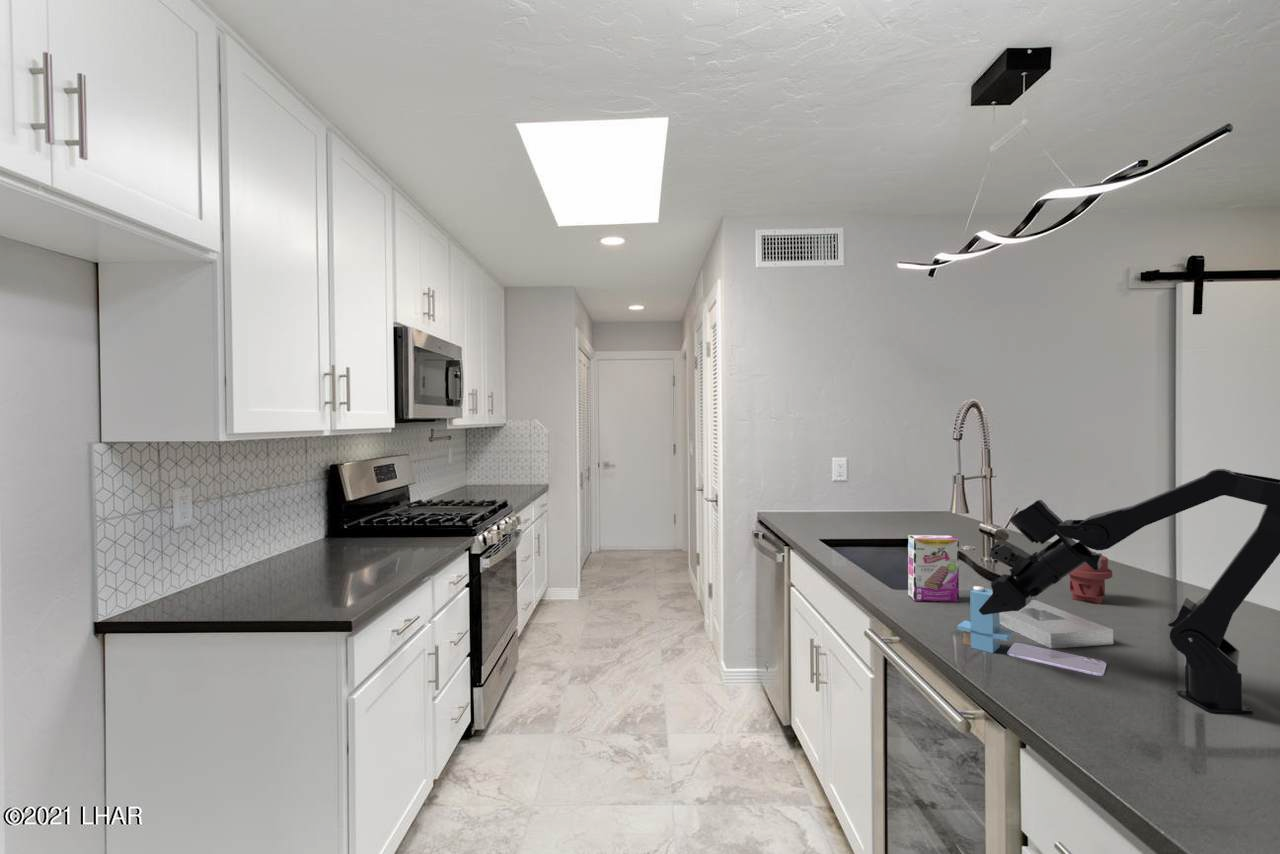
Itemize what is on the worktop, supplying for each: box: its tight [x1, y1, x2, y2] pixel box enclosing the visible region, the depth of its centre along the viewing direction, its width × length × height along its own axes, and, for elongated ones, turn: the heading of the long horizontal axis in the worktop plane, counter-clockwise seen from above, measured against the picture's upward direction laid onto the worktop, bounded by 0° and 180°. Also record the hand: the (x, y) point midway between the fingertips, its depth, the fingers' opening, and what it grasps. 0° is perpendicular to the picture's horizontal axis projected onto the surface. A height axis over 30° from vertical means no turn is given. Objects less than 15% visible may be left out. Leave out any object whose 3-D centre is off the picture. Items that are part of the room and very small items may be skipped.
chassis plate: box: [999, 599, 1114, 650], centre depth 126 cm, size 20×14×3 cm
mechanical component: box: [1067, 550, 1113, 605], centre depth 146 cm, size 12×10×10 cm
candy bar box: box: [907, 534, 960, 603], centre depth 148 cm, size 11×5×16 cm, turn 84°
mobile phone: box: [1006, 642, 1107, 677], centre depth 111 cm, size 8×1×15 cm
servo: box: [956, 585, 1015, 654], centre depth 117 cm, size 9×4×12 cm, turn 42°
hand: (988, 607), depth 116 cm, fingers open, 9 cm apart
